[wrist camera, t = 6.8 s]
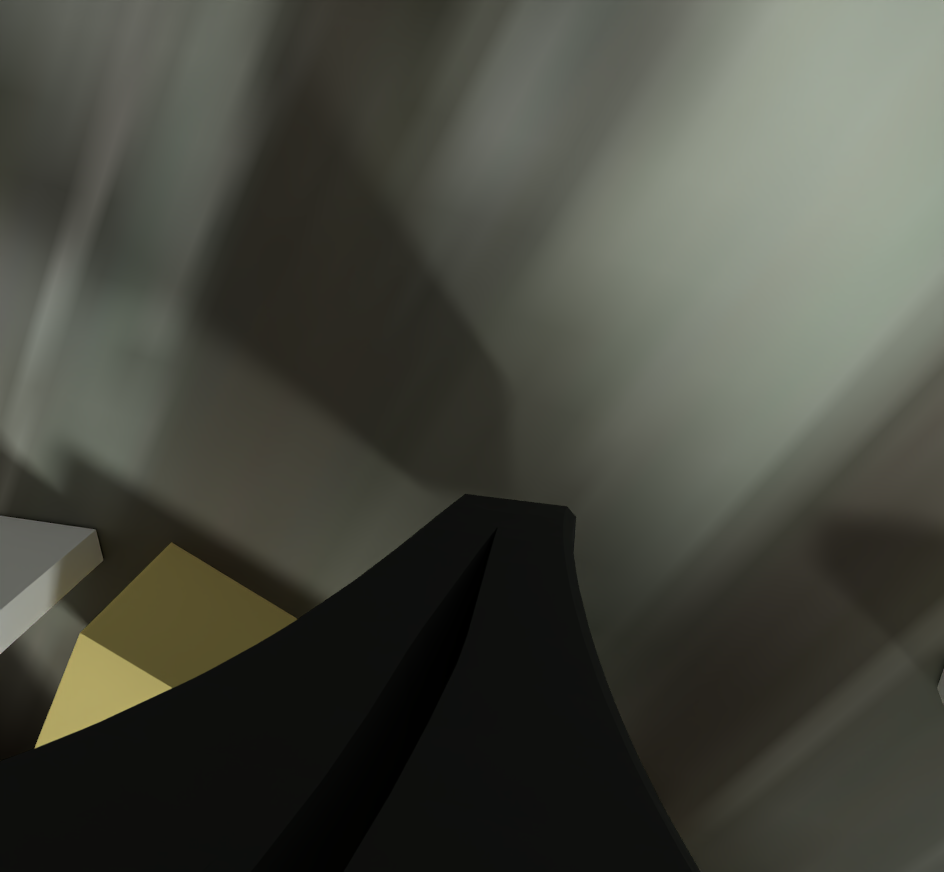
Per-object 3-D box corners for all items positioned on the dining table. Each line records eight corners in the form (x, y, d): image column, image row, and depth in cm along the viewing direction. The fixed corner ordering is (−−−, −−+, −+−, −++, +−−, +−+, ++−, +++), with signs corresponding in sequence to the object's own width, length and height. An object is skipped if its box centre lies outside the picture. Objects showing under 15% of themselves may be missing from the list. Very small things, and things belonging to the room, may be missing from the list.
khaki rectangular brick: (599, 785, 13) (581, 933, 11) (507, 870, 15) (477, 1015, 13) (180, 532, 13) (79, 632, 11) (130, 644, 14) (32, 752, 12)
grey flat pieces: (1080, 671, 10) (1205, 875, 8) (918, 1039, 14) (968, 1257, 11) (-86, 503, 14) (-254, 605, 11) (32, 830, 17) (-75, 960, 15)
